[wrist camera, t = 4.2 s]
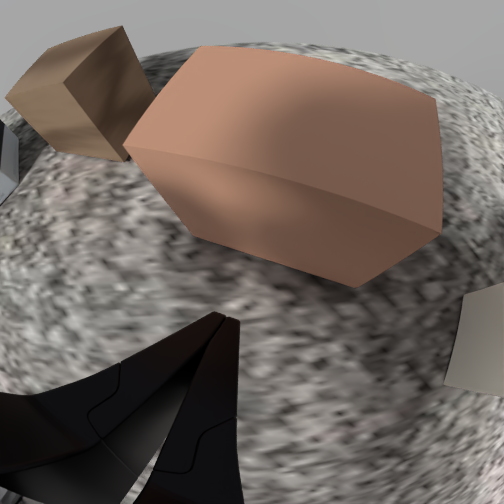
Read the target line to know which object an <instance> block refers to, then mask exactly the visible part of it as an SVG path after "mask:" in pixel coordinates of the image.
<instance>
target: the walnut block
mask: <svg viewBox="0 0 504 504" xmlns="http://www.w3.org/2000/svg"><path fill="white" fill-rule="evenodd" d="M155 98H156V96H155V94H154V92H153V90H152V88H151V86H150V84H149V82H148V80H147V77H146V75H145V73H144V71H143V69H142V67H141V65H140V63H139V60H138V58H137V56H136V54H135V52H134V50H133V48H132V45H131V43H130V41H129V39H128V37H127V35H126V32H125V30H124V28H123V26H118V27H114V28H110V29H106V30H102V31H98V32H95V33H91V34H88V35H85V36H82V37H79V38H76V39H73V40H70V41H67V42H64V43H61V44H59V45H56V46H54V47H51V48H49V49H48V50H47V51H46V52H45V53H44V54H42V55H41V57H40V58H39V59H38V60H37V61H36V62H35V63H34V64H33V65H32V66H31V67H30V68H29V69H28V70H27V71H26V73H25V74H24V75H23V76H22V77H21V78H20V80H18V82H17V83H16V84H15V85H14V86H13V88H12V89H11V90H10V91H9V93H8V94H7V95H6V97H5V99H6V100H7V101H8V102H9V103H10V104H11V105H12V106H13V107H14V108H15V109H16V110H17V112H18V113H19V114H20V115H21V116H22V117H23V118H24V119H25V120H26V121H27V122H28V123H29V124H30V125H31V126H32V127H33V128H34V129H35V130H36V131H37V132H38V133H39V134H40V135H41V136H42V137H43V138H44V139H45V140H46V141H47V142H48V143H49V144H50V145H51V146H52V147H53V148H54V149H55V150H56V151H58V152H65V153H72V154H78V155H85V156H91V157H97V158H103V159H109V160H114V161H120V162H125V161H126V159H127V157H128V156H129V153H128V152H127V151H126V149H125V148H124V147H123V144H124V142H125V140H126V139H127V137H128V136H129V134H130V133H131V131H132V130H133V128H134V127H135V126H136V124H137V123H138V121H139V120H140V118H141V117H142V116H143V114H144V113H145V111H146V110H147V109H148V107H149V106H150V105H151V103H152V102H153V101H154V99H155Z"/></svg>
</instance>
